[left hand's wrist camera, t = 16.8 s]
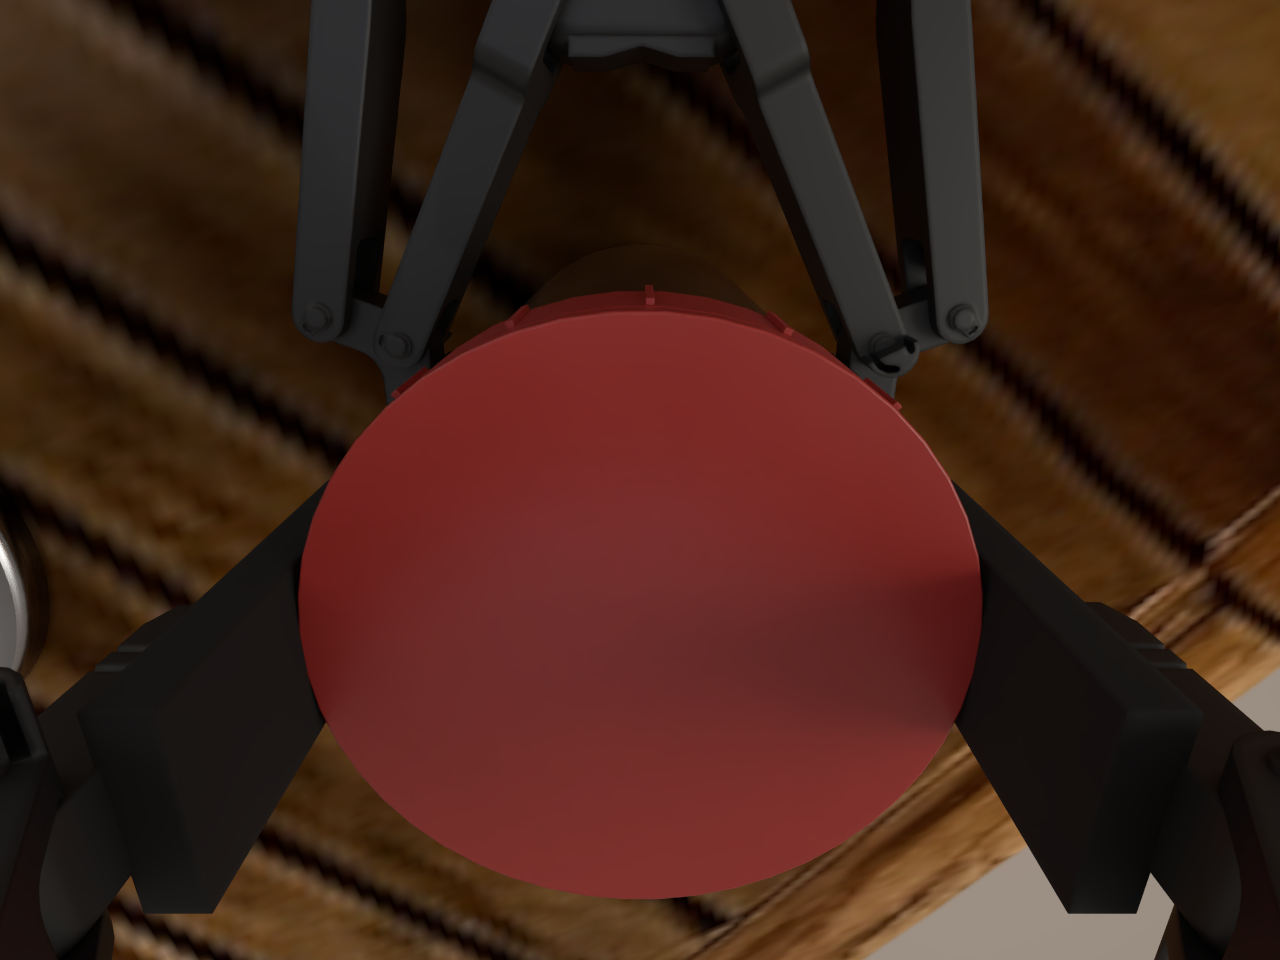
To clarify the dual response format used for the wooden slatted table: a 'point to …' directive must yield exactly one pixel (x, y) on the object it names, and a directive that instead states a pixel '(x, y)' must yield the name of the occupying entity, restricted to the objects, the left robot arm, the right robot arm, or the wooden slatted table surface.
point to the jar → (641, 276)
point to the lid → (640, 598)
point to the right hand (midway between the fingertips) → (639, 585)
